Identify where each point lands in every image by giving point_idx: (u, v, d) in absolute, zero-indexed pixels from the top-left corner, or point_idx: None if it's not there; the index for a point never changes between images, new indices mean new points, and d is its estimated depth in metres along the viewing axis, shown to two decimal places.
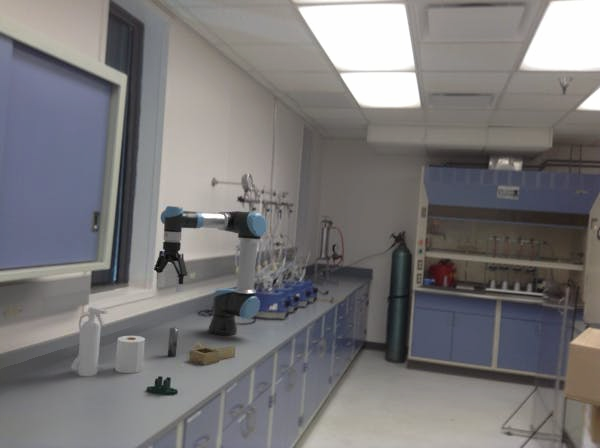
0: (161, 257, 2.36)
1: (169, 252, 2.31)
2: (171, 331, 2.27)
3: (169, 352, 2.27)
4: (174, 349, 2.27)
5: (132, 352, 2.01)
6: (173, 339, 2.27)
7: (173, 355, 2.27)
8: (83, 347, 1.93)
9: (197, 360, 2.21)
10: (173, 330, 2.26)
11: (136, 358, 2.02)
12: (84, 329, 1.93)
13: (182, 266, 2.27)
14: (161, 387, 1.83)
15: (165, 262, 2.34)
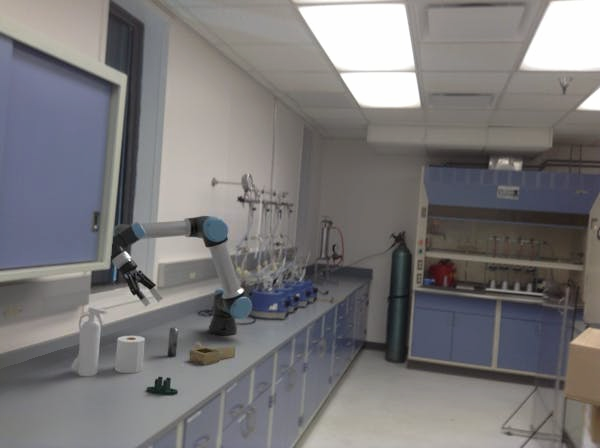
0: None
1: None
2: (171, 331, 2.27)
3: (169, 352, 2.27)
4: (174, 349, 2.27)
5: (132, 352, 2.01)
6: (173, 339, 2.27)
7: (173, 355, 2.27)
8: (83, 347, 1.93)
9: (197, 360, 2.21)
10: (173, 330, 2.26)
11: (136, 358, 2.02)
12: (84, 329, 1.93)
13: (129, 285, 2.22)
14: (161, 387, 1.83)
15: (141, 281, 2.34)
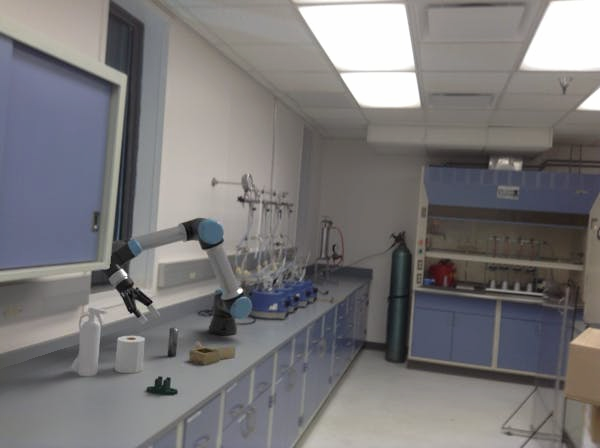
0: None
1: None
2: (171, 331, 2.27)
3: (169, 352, 2.27)
4: (174, 349, 2.27)
5: (132, 352, 2.01)
6: (173, 339, 2.27)
7: (173, 355, 2.27)
8: (83, 347, 1.93)
9: (197, 360, 2.21)
10: (173, 330, 2.26)
11: (136, 358, 2.02)
12: (84, 329, 1.93)
13: (126, 303, 2.22)
14: (161, 387, 1.83)
15: (138, 298, 2.33)
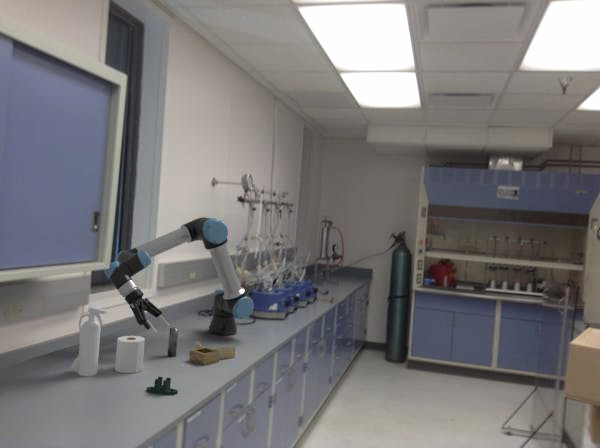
0: None
1: None
2: (171, 331, 2.27)
3: (169, 352, 2.27)
4: (174, 349, 2.27)
5: (132, 352, 2.01)
6: (173, 339, 2.27)
7: (173, 355, 2.27)
8: (83, 347, 1.93)
9: (197, 360, 2.21)
10: (173, 330, 2.26)
11: (136, 358, 2.02)
12: (84, 329, 1.93)
13: (136, 315, 2.21)
14: (161, 387, 1.83)
15: (147, 309, 2.32)
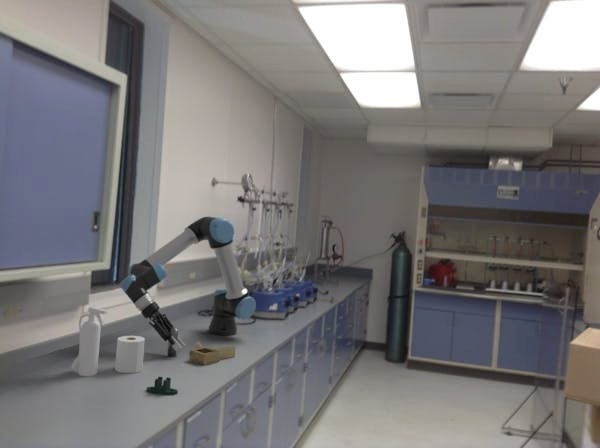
0: (163, 321, 2.34)
1: None
2: (171, 331, 2.27)
3: (169, 352, 2.27)
4: (174, 349, 2.27)
5: (132, 352, 2.01)
6: None
7: (173, 355, 2.27)
8: (83, 347, 1.93)
9: (197, 360, 2.21)
10: (173, 330, 2.26)
11: (136, 358, 2.02)
12: (84, 329, 1.93)
13: (159, 331, 2.23)
14: (161, 387, 1.83)
15: None
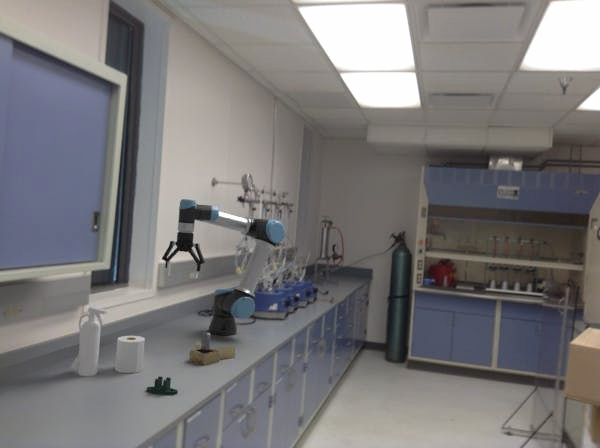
0: (171, 247, 2.49)
1: (184, 242, 2.47)
2: (204, 336, 2.23)
3: None
4: None
5: (132, 352, 2.01)
6: (206, 344, 2.23)
7: None
8: (83, 347, 1.93)
9: (197, 360, 2.21)
10: (206, 335, 2.23)
11: (136, 358, 2.02)
12: (84, 329, 1.93)
13: (201, 255, 2.47)
14: (161, 387, 1.83)
15: (177, 251, 2.49)
